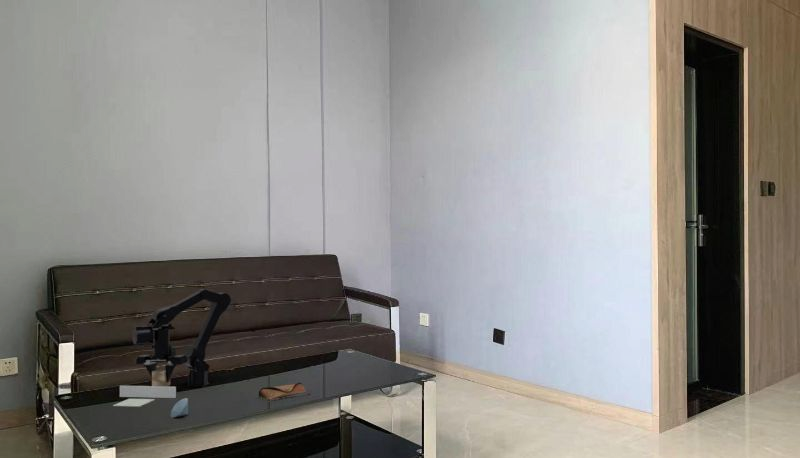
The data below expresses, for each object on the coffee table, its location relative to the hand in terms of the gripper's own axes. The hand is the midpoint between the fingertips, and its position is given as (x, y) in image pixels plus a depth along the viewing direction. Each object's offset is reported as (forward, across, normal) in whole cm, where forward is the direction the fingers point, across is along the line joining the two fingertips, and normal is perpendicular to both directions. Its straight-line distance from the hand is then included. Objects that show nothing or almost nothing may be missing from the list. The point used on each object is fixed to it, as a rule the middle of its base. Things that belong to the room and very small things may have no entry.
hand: (161, 381), depth 242 cm
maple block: (+2, 0, 0) cm, 2 cm away
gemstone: (+4, -25, +34) cm, 42 cm away
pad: (+4, 0, +19) cm, 19 cm away
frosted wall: (+4, 0, +10) cm, 11 cm away
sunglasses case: (+4, -51, +3) cm, 51 cm away
